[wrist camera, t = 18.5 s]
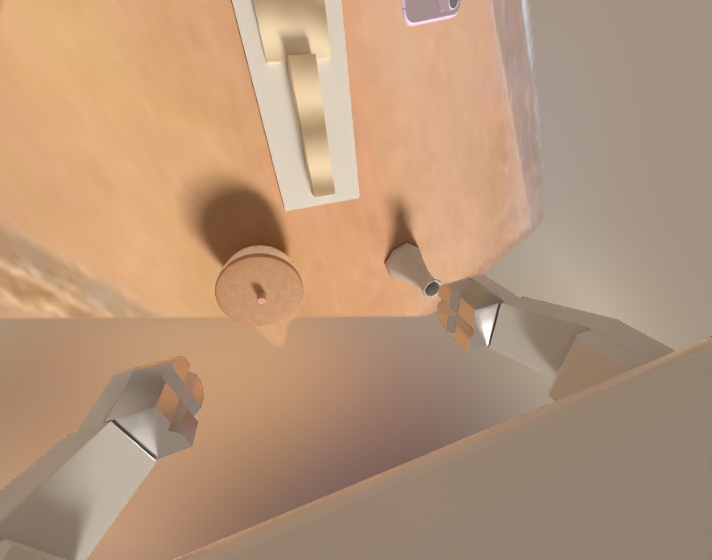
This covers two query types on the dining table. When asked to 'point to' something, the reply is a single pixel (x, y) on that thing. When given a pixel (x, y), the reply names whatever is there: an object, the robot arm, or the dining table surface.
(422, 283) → the flask
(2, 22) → the dining table surface
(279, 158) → the mat
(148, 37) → the dining table surface
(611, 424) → the robot arm
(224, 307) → the lidded jar
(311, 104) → the turner
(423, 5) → the mobile phone
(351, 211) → the dining table surface
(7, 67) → the dining table surface
